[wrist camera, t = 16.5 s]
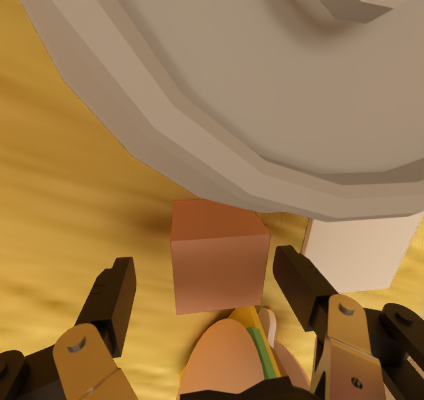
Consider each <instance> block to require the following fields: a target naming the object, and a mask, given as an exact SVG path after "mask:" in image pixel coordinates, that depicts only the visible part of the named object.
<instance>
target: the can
mask: <svg viewBox="0 0 424 400" xmlns="http://www.w3.org/2000/svg"><path fill="white" fill-rule="evenodd" d="M20 2H21V4H22V6H23V8H24V9H25V11H26V13H27V15H28V17H29V19H30V21H31V22H32V24H33V26H34V28H35V30H36V32H37V33H38V35H39V37H40V39H41V41H42V43H43V44H44V46H45V48H46V50H47V52H48V54H49V55H50V57H51V59H52V61H53V63H54V65H55V66H56V68H57V70H58V72H59V74H60V76H61V77H62V79H63V81H64V82H65V83H66V84H67V85H68V86H69V87H70V88H71V89H72V91H73V92H74V93H75V94H76V95H77V96H78V97H79V98H80V99H81V100H82V102H83V103H84V104H85V105H86V106H87V107H88V108H89V109H90V110H91V111H92V112H93V114H94V115H95V116H96V117H97V118H98V119H99V120H100V121H101V122H102V123H103V125H104V126H105V127H106V128H107V129H108V130H109V131H110V132H111V133H112V134H113V135H114V137H115V138H116V139H117V140H118V141H119V142H120V143H121V144H122V145H123V146H124V148H125V149H126V150H127V151H128V152H129V153H130V154H131V155H132V156H133V157H134V158H136V159H138V160H139V161H141V162H142V163H144V164H146V165H147V166H149V167H150V168H152V169H154V170H155V171H157V172H159V173H160V174H162V175H163V176H165V177H167V178H168V179H170V180H172V181H173V182H175V183H176V184H178V185H180V186H181V187H183V188H185V189H186V190H188V191H189V192H191V193H193V194H194V195H196V196H198V197H199V198H203V199H207V200H211V201H215V202H219V203H223V204H227V205H231V206H235V207H239V208H243V209H247V210H251V211H255V212H259V213H276V212H289V213H292V214H296V215H300V216H304V217H308V218H312V219H315V220H319V221H323V222H340V221H354V220H369V219H383V218H398V217H409V216H411V215H414V214H417V213H420V212H423V211H424V0H20Z"/></svg>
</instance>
